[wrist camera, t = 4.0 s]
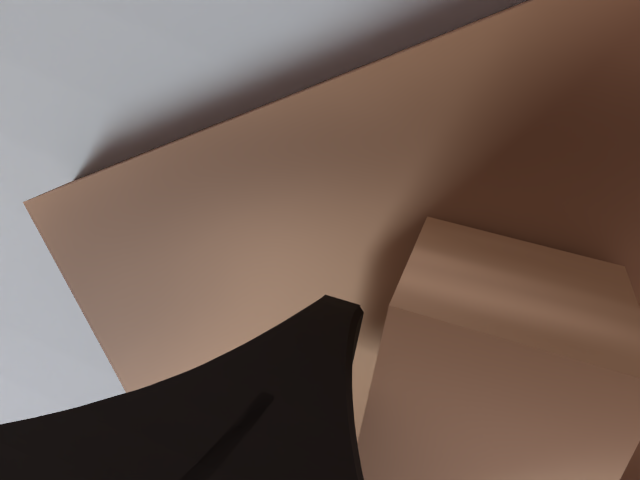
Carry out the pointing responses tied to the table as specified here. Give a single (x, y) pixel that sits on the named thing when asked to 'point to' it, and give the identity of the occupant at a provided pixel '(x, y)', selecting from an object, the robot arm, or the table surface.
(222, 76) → the table surface
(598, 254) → the stool seat
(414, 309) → the folding leg
